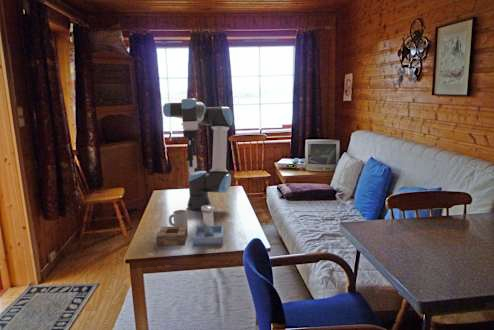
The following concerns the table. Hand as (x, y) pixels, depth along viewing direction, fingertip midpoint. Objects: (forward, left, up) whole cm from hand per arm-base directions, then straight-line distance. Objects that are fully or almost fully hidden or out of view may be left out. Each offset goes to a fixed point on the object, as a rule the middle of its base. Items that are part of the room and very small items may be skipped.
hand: (193, 170), depth 188 cm
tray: (+14, +8, -32) cm, 36 cm away
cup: (-4, -10, -33) cm, 35 cm away
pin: (+14, +8, -31) cm, 35 cm away
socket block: (+14, -10, -32) cm, 37 cm away
